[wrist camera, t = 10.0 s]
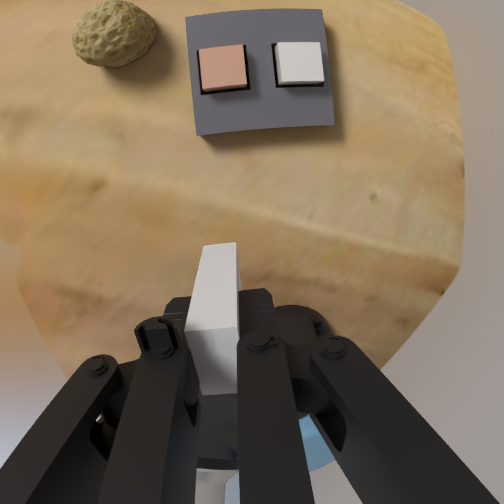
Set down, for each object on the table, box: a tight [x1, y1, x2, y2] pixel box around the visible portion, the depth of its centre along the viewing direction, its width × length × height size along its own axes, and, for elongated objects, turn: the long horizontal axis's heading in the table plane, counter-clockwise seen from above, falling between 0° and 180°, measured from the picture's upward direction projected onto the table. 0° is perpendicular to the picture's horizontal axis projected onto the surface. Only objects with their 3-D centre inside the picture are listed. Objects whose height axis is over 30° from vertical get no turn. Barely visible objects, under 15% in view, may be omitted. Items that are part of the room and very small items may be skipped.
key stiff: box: [199, 44, 247, 92], centre depth 33 cm, size 5×5×4 cm
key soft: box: [274, 42, 324, 85], centre depth 33 cm, size 5×5×4 cm
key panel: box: [185, 9, 335, 136], centre depth 35 cm, size 16×17×3 cm
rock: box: [72, 0, 156, 67], centre depth 30 cm, size 10×11×10 cm
